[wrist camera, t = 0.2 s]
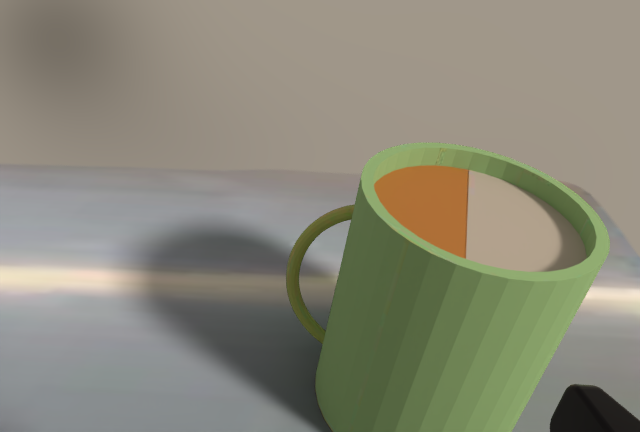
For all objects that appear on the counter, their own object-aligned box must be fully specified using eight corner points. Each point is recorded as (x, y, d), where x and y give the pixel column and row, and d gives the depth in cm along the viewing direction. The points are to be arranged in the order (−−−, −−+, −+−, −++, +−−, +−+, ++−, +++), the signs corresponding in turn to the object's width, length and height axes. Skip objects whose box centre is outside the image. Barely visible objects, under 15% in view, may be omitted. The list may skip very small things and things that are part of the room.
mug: (503, 348, 34) (586, 172, 28) (511, 514, 26) (636, 314, 19) (299, 290, 36) (332, 109, 29) (240, 429, 27) (269, 215, 20)
